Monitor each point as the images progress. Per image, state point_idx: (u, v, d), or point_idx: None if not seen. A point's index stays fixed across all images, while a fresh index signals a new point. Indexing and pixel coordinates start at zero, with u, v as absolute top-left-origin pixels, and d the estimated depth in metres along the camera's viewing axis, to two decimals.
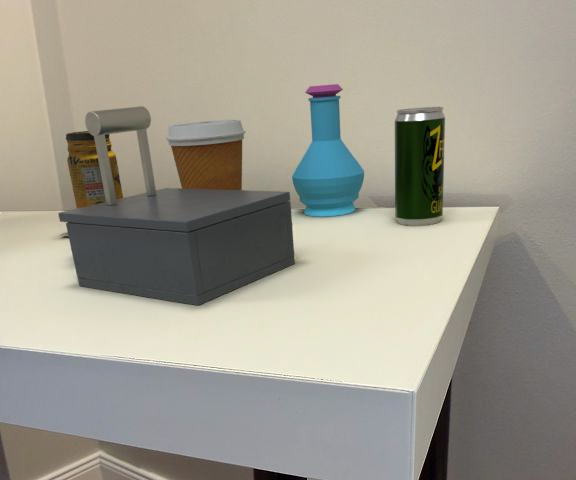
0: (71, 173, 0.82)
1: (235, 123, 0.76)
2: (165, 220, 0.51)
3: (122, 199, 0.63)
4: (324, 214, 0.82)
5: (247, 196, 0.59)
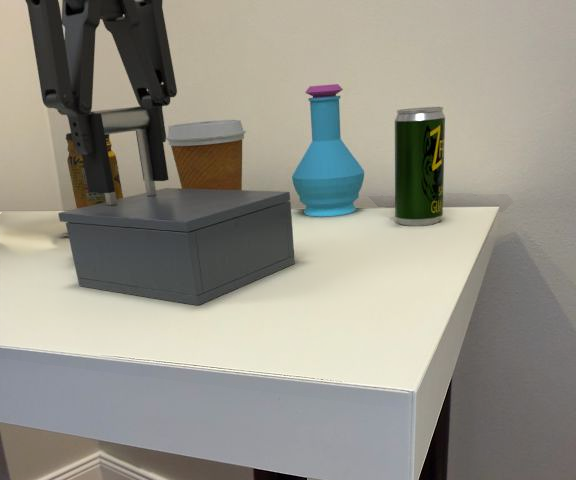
0: (71, 173, 0.82)
1: (235, 123, 0.76)
2: (165, 220, 0.51)
3: (122, 199, 0.63)
4: (324, 214, 0.82)
5: (247, 196, 0.59)
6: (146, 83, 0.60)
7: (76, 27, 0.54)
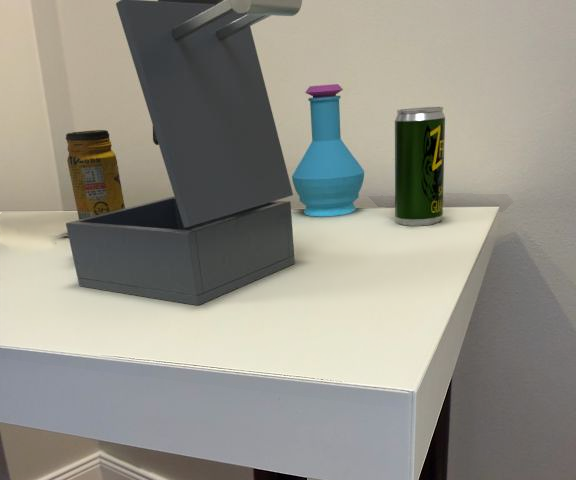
0: (71, 173, 0.82)
1: None
2: (181, 194, 0.49)
3: (193, 14, 0.50)
4: (324, 214, 0.82)
5: (266, 171, 0.56)
6: None
7: None
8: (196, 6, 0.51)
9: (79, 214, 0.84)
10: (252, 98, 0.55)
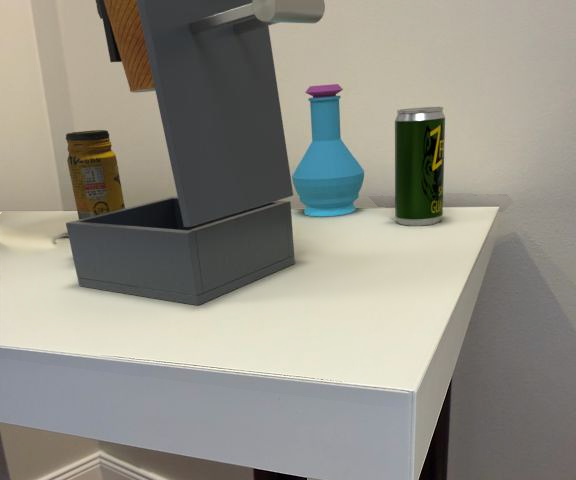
0: (71, 173, 0.82)
1: None
2: (185, 194, 0.49)
3: (212, 6, 0.49)
4: (324, 214, 0.82)
5: (269, 171, 0.56)
6: None
7: None
8: None
9: (79, 214, 0.84)
10: (262, 96, 0.55)
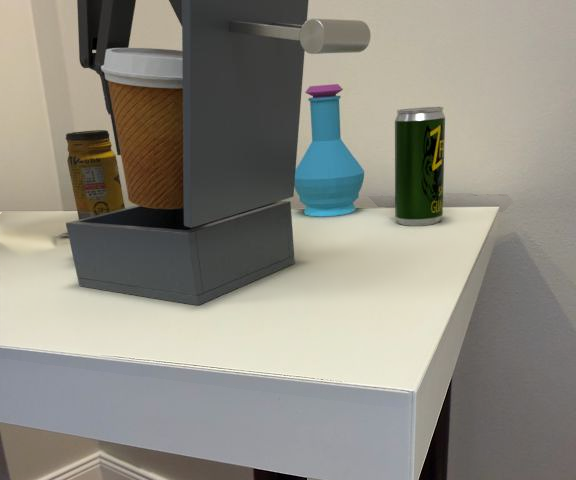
0: (71, 173, 0.82)
1: None
2: (191, 196, 0.48)
3: (256, 3, 0.47)
4: (324, 214, 0.82)
5: (276, 173, 0.56)
6: None
7: None
8: None
9: (79, 214, 0.84)
10: (286, 97, 0.53)
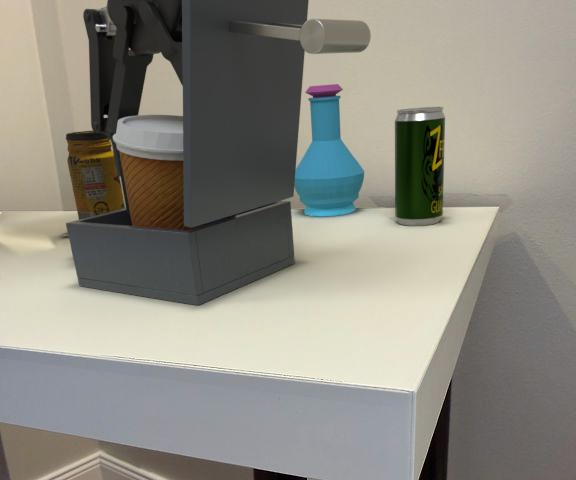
0: (71, 173, 0.82)
1: None
2: (191, 196, 0.48)
3: (256, 3, 0.47)
4: (324, 214, 0.82)
5: (276, 173, 0.56)
6: None
7: None
8: None
9: (79, 214, 0.84)
10: (286, 97, 0.53)
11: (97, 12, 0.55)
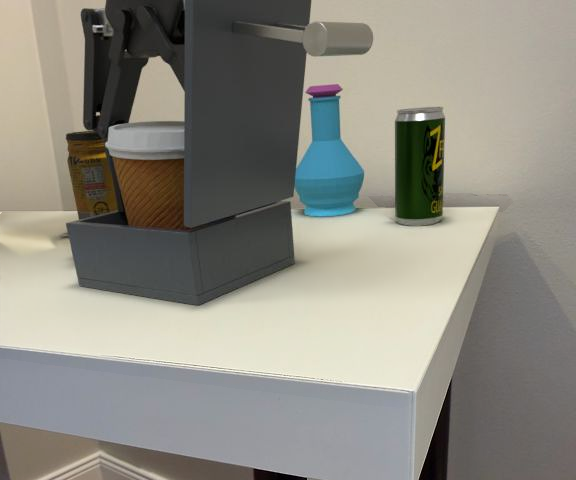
0: (71, 173, 0.82)
1: None
2: (192, 196, 0.48)
3: (259, 4, 0.47)
4: (324, 214, 0.82)
5: (276, 173, 0.56)
6: None
7: None
8: None
9: (79, 214, 0.84)
10: (287, 97, 0.53)
11: (95, 12, 0.55)
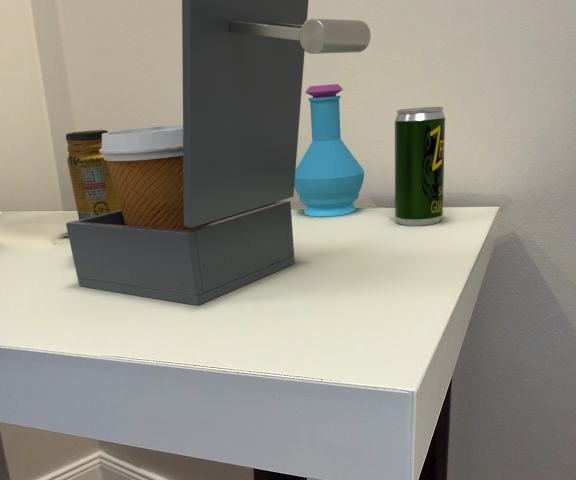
0: (71, 173, 0.82)
1: None
2: (191, 196, 0.48)
3: (256, 3, 0.47)
4: (324, 214, 0.82)
5: (276, 173, 0.56)
6: None
7: None
8: None
9: (79, 214, 0.84)
10: (285, 97, 0.53)
11: None
